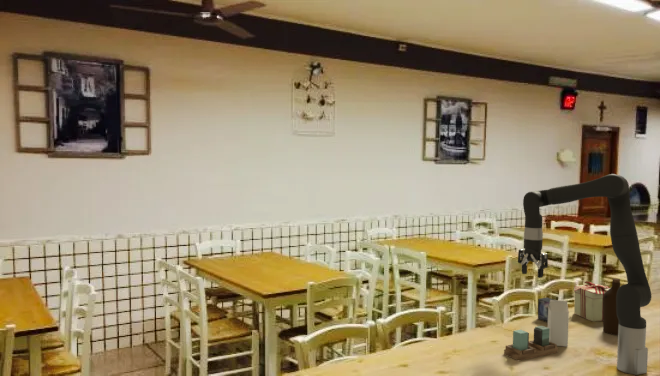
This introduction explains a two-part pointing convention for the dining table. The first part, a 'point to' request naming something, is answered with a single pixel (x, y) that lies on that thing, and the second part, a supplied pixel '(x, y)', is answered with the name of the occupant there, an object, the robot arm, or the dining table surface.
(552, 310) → the milk carton
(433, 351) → the dining table surface
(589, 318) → the gift box
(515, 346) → the teal rectangular block
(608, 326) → the olive oil
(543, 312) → the small box
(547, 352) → the walnut rail
